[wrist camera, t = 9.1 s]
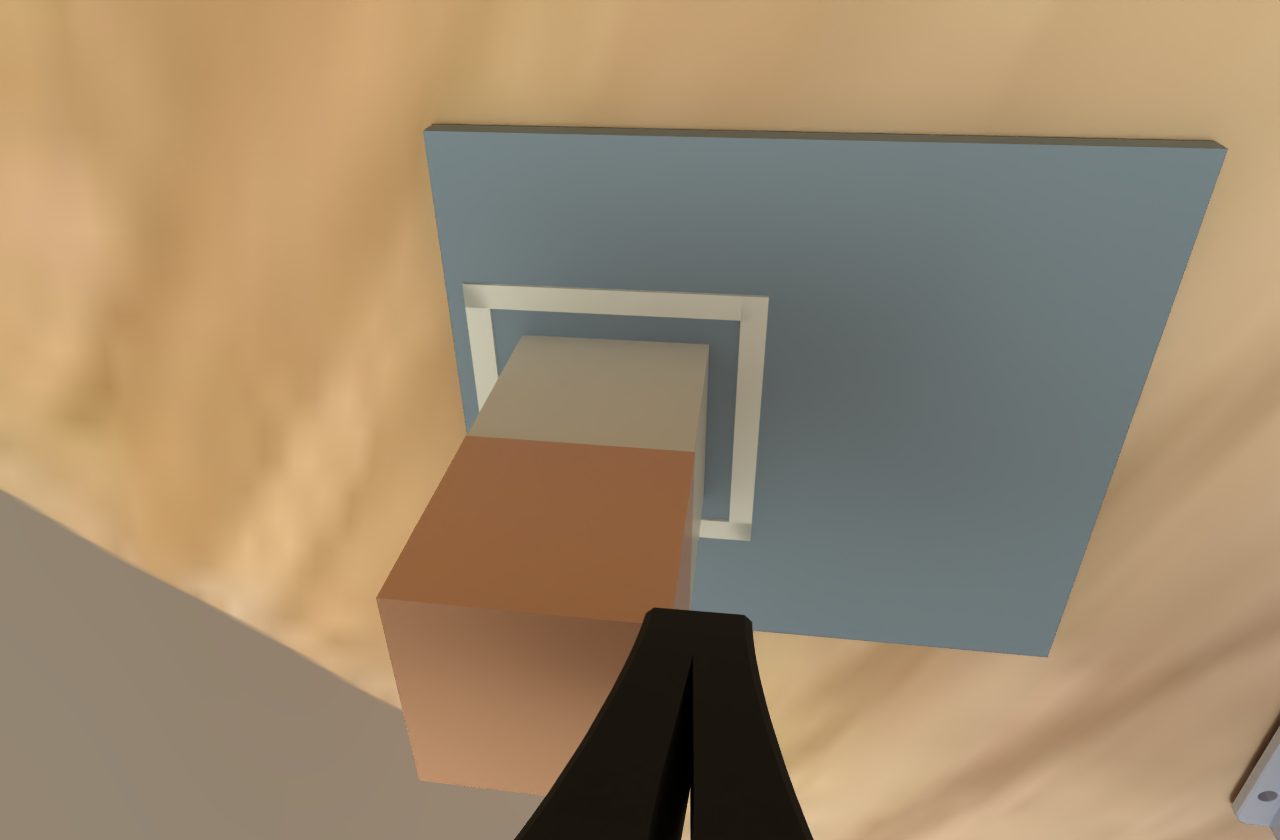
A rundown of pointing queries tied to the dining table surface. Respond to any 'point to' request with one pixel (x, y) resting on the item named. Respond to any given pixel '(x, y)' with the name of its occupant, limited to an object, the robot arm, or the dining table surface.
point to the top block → (530, 600)
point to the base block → (605, 399)
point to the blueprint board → (850, 343)
